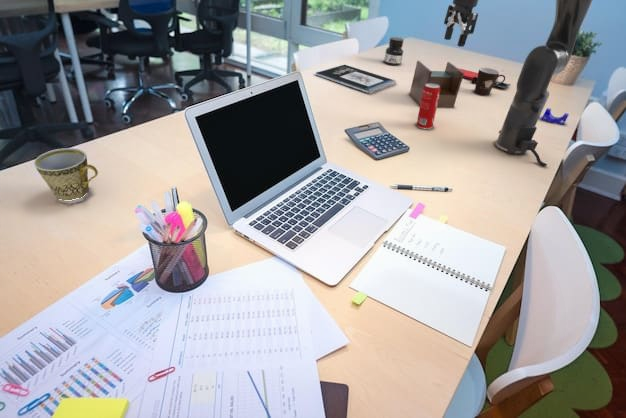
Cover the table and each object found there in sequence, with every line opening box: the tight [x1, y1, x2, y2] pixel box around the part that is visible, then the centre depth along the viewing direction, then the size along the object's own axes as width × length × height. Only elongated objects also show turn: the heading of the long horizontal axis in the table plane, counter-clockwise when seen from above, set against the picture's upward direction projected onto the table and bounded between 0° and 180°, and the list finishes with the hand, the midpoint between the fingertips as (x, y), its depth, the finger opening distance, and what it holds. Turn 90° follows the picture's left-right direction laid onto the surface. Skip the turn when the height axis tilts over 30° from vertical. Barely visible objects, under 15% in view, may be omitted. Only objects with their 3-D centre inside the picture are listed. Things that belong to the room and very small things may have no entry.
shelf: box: [409, 60, 464, 109], centre depth 159 cm, size 14×14×14 cm
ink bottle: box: [383, 36, 404, 66], centre depth 199 cm, size 10×9×12 cm
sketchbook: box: [315, 64, 397, 95], centre depth 176 cm, size 22×30×2 cm
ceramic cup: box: [33, 147, 99, 205], centre depth 89 cm, size 13×10×10 cm
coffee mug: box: [473, 67, 506, 97], centre depth 172 cm, size 12×9×10 cm
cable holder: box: [541, 107, 570, 126], centre depth 154 cm, size 8×4×4 cm, turn 52°
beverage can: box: [416, 83, 440, 130], centre depth 137 cm, size 6×6×15 cm
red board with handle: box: [457, 67, 511, 89], centre depth 190 cm, size 30×3×15 cm
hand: (453, 42), depth 132 cm, fingers open, 8 cm apart
